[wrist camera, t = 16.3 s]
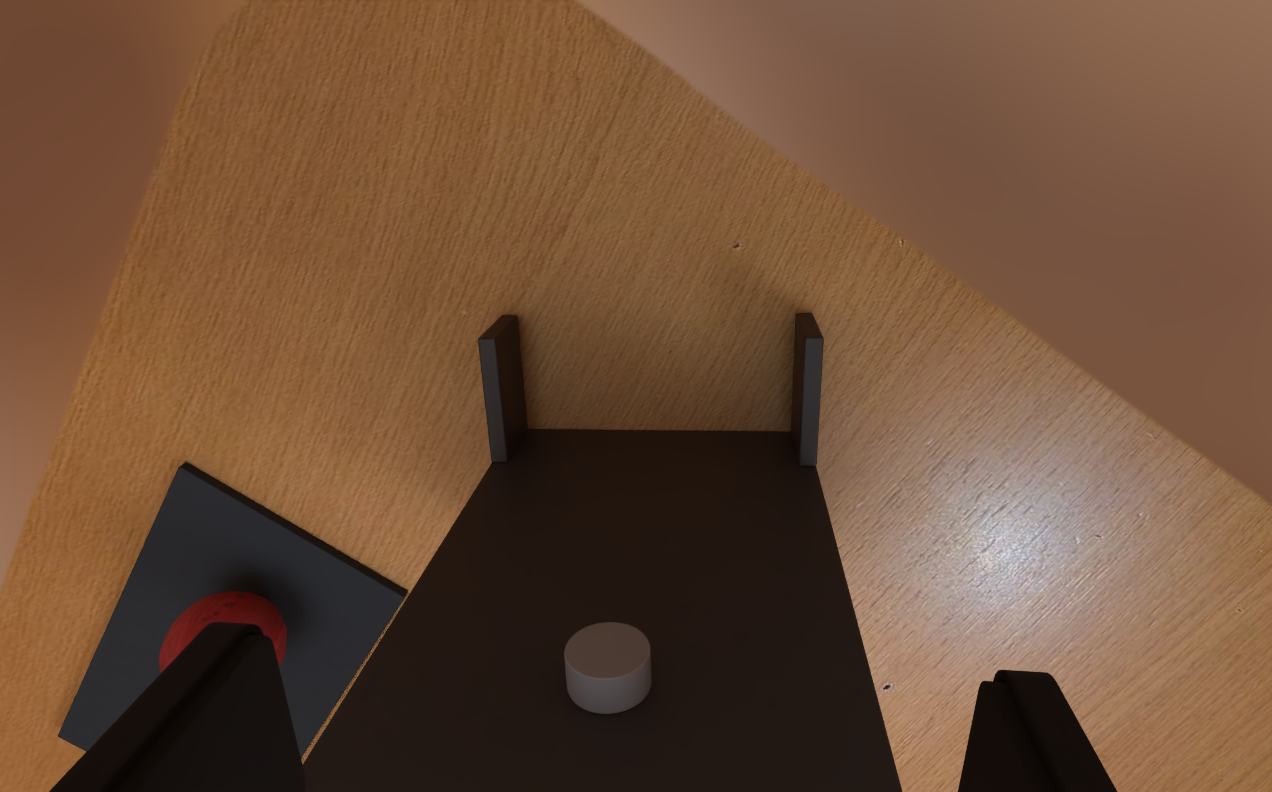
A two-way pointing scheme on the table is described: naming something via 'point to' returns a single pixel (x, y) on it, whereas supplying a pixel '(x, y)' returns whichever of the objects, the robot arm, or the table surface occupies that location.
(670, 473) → the grey legged box
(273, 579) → the mat
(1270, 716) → the table surface
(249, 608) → the pomegranate
